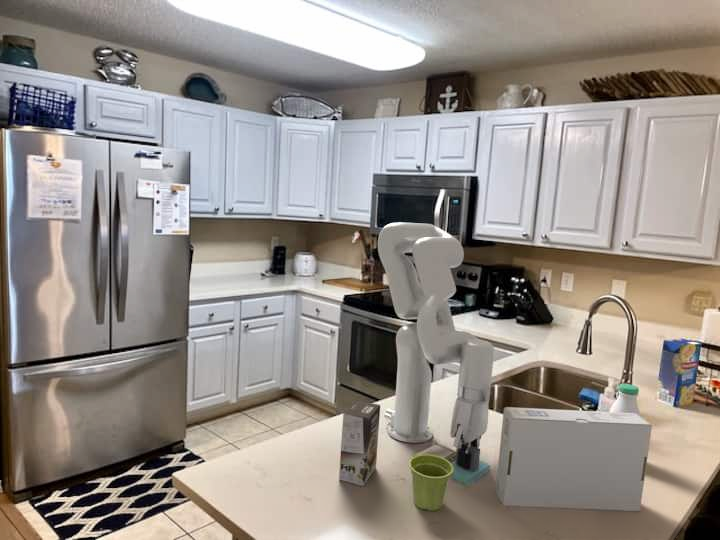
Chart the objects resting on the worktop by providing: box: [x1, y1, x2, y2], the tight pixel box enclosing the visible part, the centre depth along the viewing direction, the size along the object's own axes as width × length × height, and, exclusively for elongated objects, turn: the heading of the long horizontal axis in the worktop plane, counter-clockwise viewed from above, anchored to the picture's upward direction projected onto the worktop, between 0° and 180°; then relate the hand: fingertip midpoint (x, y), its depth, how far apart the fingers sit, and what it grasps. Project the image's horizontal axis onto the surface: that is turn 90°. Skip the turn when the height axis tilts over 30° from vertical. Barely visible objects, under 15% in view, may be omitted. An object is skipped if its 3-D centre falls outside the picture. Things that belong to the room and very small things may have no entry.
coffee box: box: [338, 400, 381, 487], centre depth 118 cm, size 9×6×16 cm
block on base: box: [450, 442, 491, 486], centre depth 122 cm, size 7×10×6 cm
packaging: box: [495, 406, 653, 512], centre depth 112 cm, size 30×6×20 cm, turn 92°
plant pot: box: [408, 455, 454, 512], centre depth 108 cm, size 9×9×9 cm
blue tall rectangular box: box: [655, 338, 702, 408], centre depth 179 cm, size 7×11×22 cm, turn 117°
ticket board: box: [412, 442, 456, 463], centre depth 127 cm, size 8×10×2 cm
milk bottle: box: [609, 383, 642, 418], centre depth 134 cm, size 8×8×20 cm
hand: (466, 464), depth 122 cm, fingers closed on block on base, 2 cm apart
